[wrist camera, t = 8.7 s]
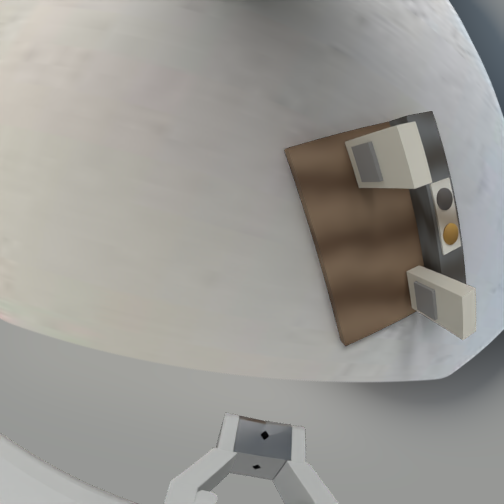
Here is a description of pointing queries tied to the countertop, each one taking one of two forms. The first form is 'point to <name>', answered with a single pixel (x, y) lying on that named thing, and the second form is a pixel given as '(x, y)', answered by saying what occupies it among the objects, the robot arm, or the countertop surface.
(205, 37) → the countertop surface
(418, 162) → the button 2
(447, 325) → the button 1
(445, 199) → the console
